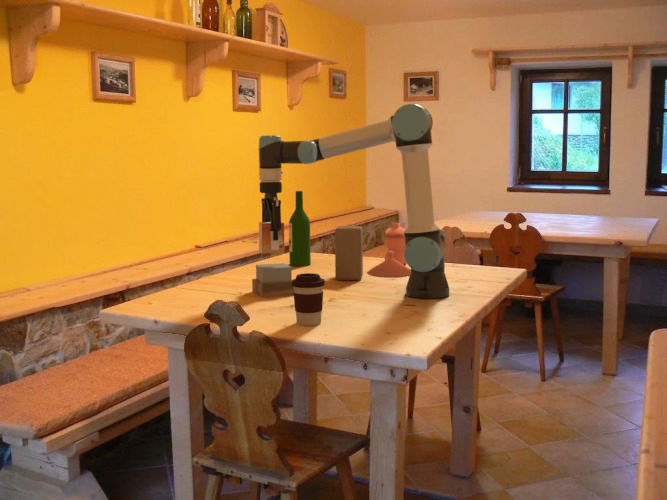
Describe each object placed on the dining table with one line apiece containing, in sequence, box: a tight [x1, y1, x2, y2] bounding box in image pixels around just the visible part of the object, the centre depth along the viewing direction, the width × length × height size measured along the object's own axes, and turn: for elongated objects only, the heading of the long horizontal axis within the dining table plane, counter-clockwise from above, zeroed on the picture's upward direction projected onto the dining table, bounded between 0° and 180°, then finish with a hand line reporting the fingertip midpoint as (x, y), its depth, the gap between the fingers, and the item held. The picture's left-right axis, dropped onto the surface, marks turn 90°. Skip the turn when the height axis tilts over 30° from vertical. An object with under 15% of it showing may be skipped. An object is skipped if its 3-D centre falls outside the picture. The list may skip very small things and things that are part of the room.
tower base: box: [251, 278, 294, 299], centre depth 255 cm, size 12×12×5 cm
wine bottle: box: [288, 190, 312, 268], centre depth 313 cm, size 9×9×32 cm
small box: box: [258, 221, 285, 254], centre depth 253 cm, size 8×6×10 cm
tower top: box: [255, 262, 293, 283], centre depth 255 cm, size 10×10×5 cm
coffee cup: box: [292, 272, 326, 327], centre depth 221 cm, size 10×10×15 cm
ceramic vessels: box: [366, 222, 411, 279], centre depth 302 cm, size 35×21×19 cm, turn 169°
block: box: [334, 225, 364, 281], centre depth 284 cm, size 10×10×20 cm
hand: (271, 248), depth 253 cm, fingers closed on small box, 6 cm apart
